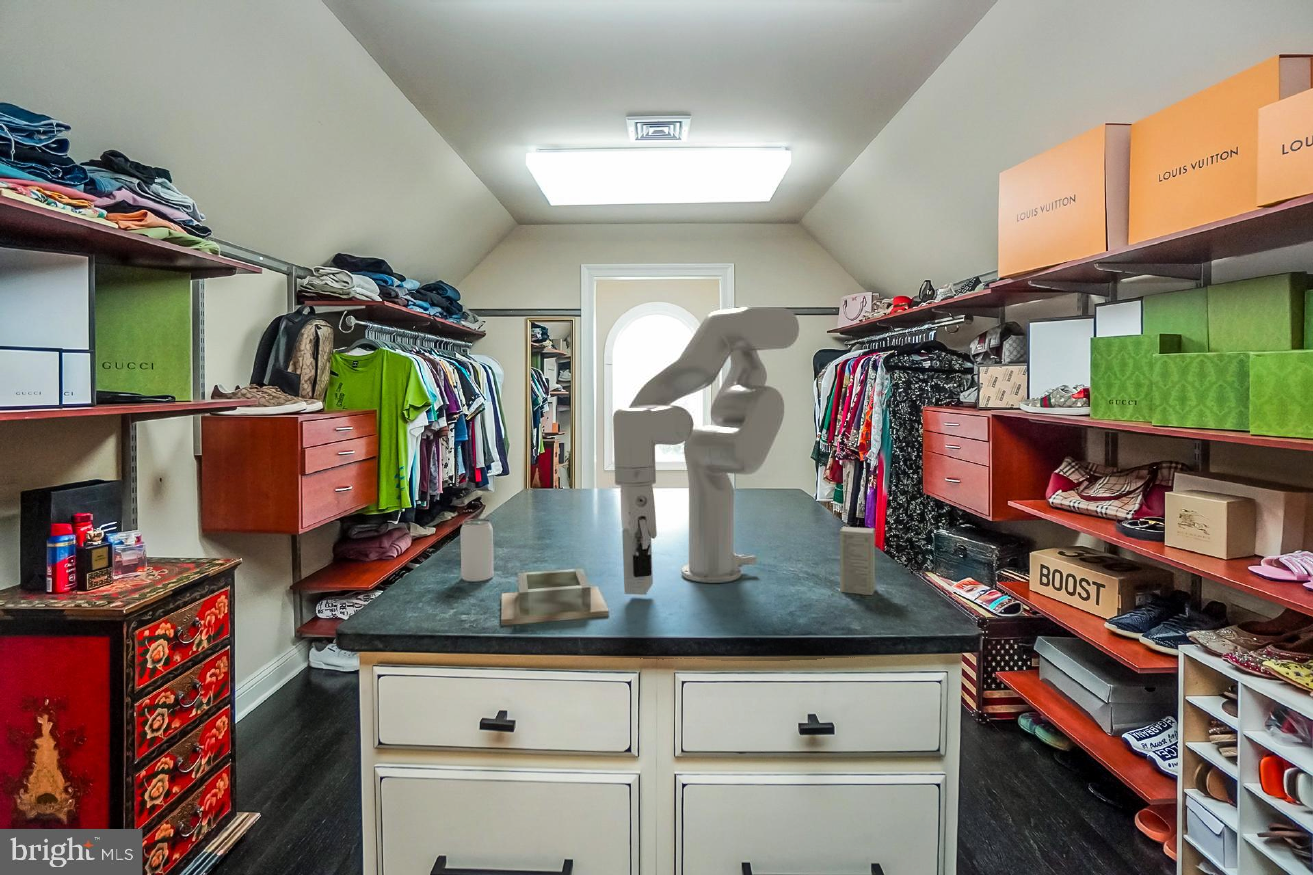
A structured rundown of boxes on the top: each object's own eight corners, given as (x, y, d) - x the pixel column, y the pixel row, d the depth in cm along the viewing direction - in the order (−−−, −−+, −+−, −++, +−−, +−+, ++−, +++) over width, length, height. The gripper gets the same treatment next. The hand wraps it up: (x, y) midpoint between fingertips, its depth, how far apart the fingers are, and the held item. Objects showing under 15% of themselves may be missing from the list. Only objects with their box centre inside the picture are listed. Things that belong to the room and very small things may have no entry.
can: (484, 583, 126) (483, 525, 125) (455, 581, 127) (454, 523, 126) (499, 574, 132) (497, 518, 131) (471, 572, 133) (469, 517, 132)
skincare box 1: (631, 583, 119) (629, 522, 118) (653, 584, 118) (651, 522, 117) (623, 594, 113) (621, 529, 112) (646, 595, 112) (644, 530, 111)
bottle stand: (597, 591, 120) (597, 566, 120) (608, 615, 107) (608, 587, 106) (501, 598, 116) (501, 572, 116) (501, 625, 102) (500, 595, 102)
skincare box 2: (875, 589, 121) (876, 528, 120) (872, 596, 117) (874, 532, 116) (841, 585, 123) (842, 525, 123) (838, 592, 119) (839, 529, 119)
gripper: (667, 481, 106) (669, 582, 108) (644, 468, 123) (647, 555, 124) (623, 483, 104) (627, 586, 106) (607, 470, 121) (610, 559, 123)
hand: (637, 569), depth 115 cm, fingers closed on skincare box 1, 7 cm apart
